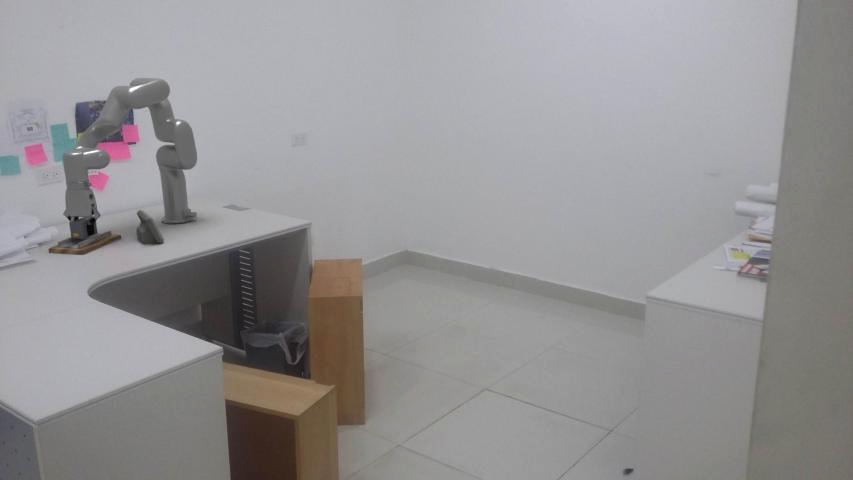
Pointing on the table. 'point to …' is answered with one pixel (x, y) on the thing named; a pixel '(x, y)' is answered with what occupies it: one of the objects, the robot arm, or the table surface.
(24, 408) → the table surface
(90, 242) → the rail mount
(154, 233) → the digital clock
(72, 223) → the block
